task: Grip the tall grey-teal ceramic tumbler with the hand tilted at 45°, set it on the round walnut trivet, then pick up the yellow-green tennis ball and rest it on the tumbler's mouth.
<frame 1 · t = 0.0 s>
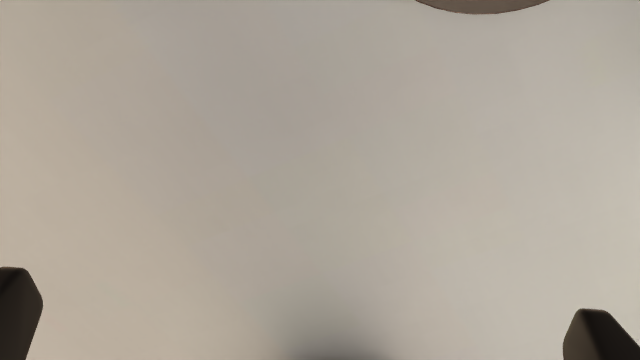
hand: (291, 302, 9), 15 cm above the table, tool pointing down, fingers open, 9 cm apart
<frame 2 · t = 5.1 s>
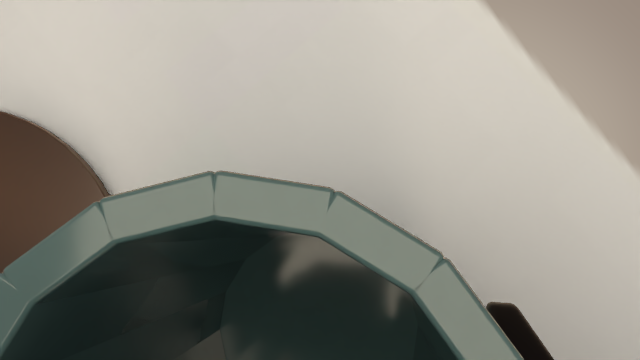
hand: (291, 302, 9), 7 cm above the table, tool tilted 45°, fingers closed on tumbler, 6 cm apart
tumbler: (319, 323, 16), on the table, touching gripper
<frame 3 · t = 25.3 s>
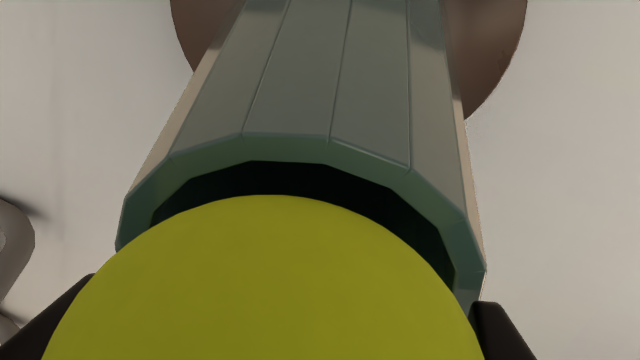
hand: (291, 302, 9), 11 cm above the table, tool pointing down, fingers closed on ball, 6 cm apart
tumbler: (343, 21, 18), resting on trivet
trivet: (343, 15, 18), on the table
when the fingers open (12 cm above the table, at t = 28.6 s): ball drops 1 cm, resting on tumbler.
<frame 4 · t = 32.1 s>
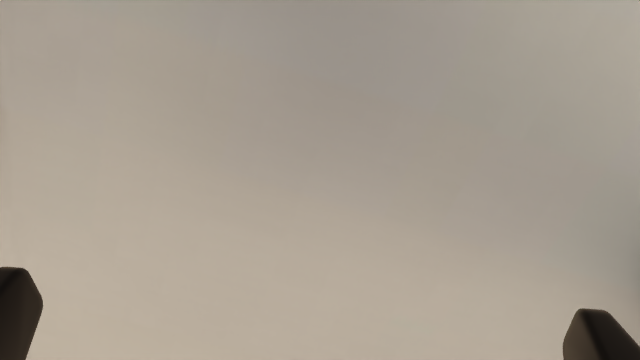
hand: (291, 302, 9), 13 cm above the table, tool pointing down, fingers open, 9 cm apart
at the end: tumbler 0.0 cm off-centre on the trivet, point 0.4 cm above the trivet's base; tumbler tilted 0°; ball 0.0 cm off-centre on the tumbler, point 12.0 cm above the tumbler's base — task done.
